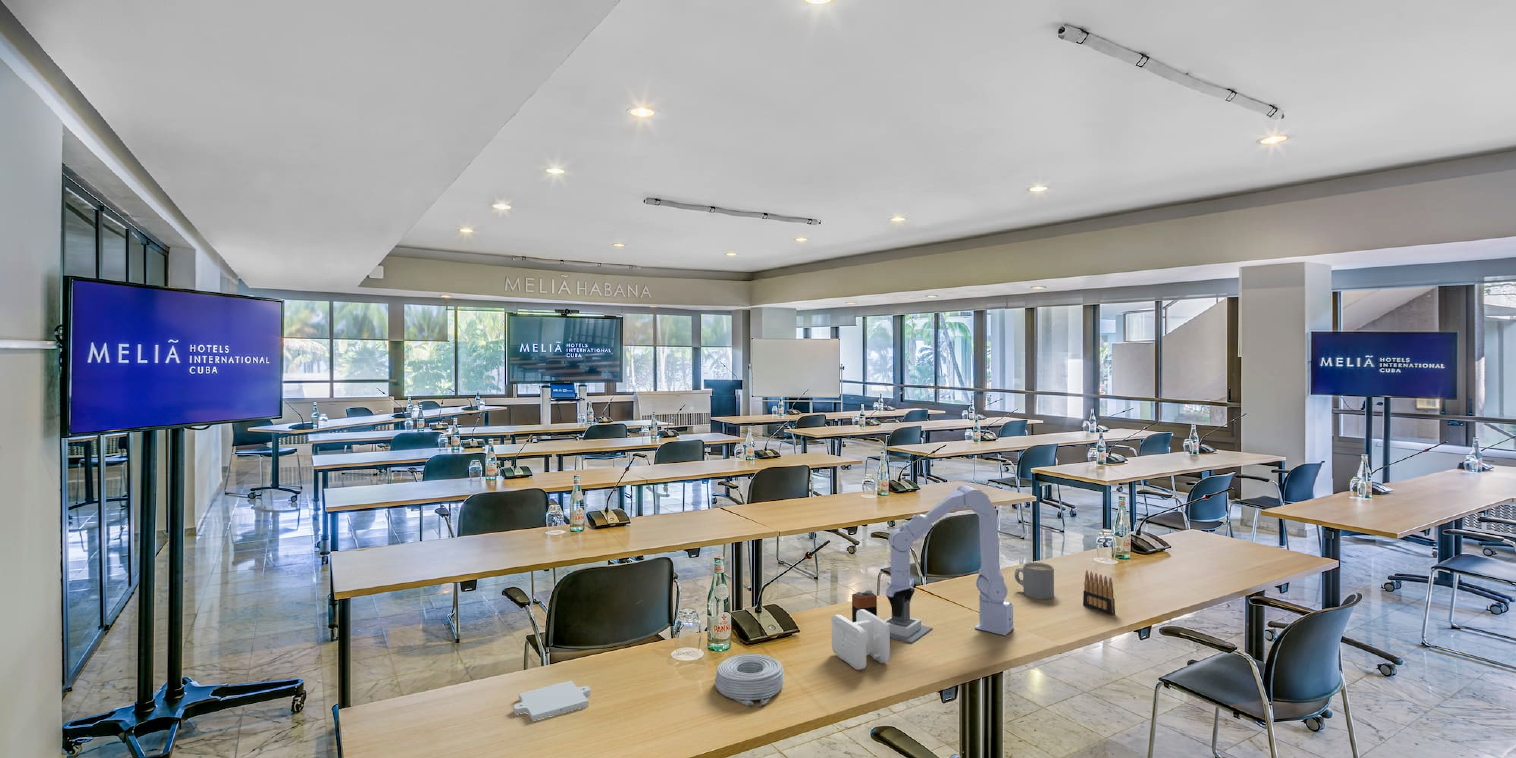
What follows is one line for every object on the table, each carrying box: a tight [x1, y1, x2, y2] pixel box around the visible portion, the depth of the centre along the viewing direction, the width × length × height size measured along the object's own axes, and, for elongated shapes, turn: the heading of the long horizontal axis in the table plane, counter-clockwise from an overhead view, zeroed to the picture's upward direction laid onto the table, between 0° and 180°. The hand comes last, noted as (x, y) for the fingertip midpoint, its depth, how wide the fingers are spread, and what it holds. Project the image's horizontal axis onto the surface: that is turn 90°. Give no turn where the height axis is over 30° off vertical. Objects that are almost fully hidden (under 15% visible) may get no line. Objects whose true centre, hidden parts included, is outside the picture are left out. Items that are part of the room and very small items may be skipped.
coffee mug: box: [1014, 561, 1055, 600], centre depth 242 cm, size 13×10×10 cm
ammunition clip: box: [1082, 570, 1116, 616], centre depth 224 cm, size 11×2×12 cm, turn 25°
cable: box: [714, 653, 785, 707], centre depth 171 cm, size 18×18×6 cm
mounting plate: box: [513, 679, 592, 722], centre depth 164 cm, size 18×13×2 cm
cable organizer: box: [831, 609, 891, 671], centre depth 187 cm, size 15×11×12 cm
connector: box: [891, 599, 911, 623], centre depth 207 cm, size 4×4×7 cm
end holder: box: [884, 615, 933, 645], centre depth 208 cm, size 14×14×3 cm
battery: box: [851, 589, 878, 622], centre depth 214 cm, size 4×7×10 cm, turn 109°
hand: (900, 614), depth 208 cm, fingers closed on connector, 4 cm apart
